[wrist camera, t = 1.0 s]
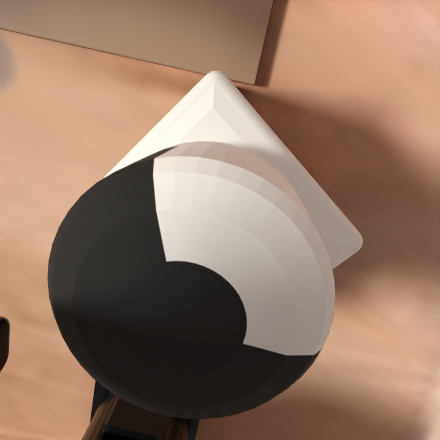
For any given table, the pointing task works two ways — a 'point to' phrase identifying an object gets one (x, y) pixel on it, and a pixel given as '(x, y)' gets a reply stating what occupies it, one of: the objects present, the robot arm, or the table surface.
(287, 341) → the medicine bottle
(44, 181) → the table surface
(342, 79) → the table surface
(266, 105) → the table surface
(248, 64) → the brown panel with frame
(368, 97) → the table surface
